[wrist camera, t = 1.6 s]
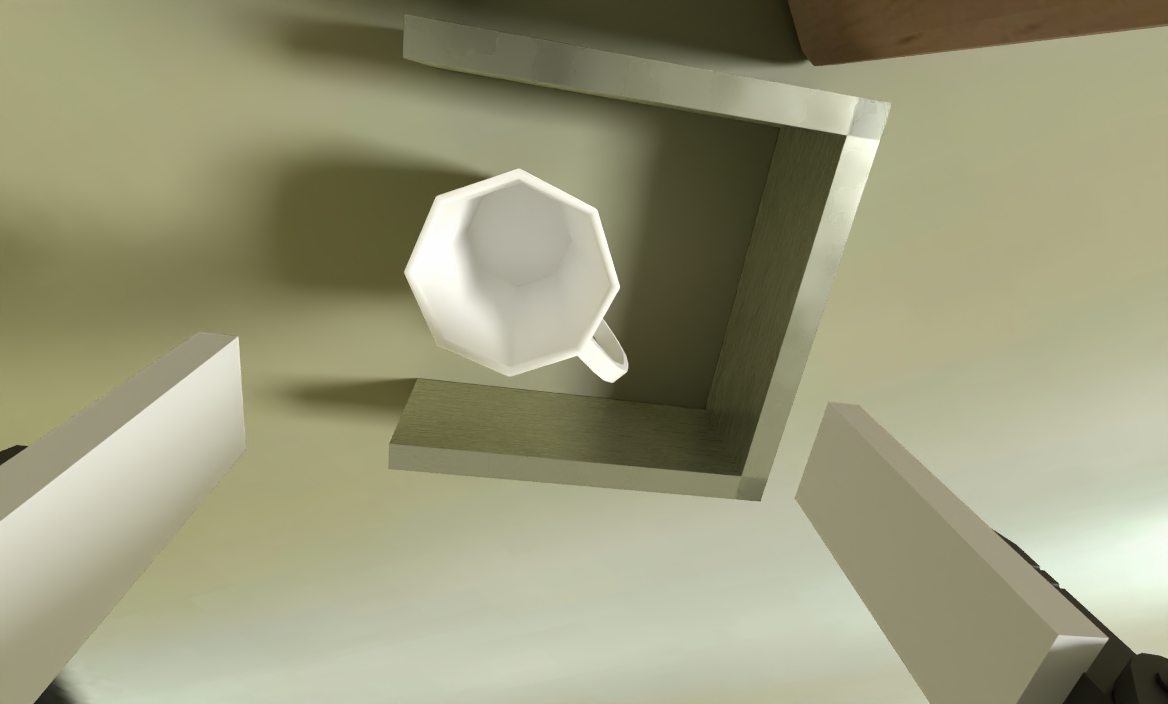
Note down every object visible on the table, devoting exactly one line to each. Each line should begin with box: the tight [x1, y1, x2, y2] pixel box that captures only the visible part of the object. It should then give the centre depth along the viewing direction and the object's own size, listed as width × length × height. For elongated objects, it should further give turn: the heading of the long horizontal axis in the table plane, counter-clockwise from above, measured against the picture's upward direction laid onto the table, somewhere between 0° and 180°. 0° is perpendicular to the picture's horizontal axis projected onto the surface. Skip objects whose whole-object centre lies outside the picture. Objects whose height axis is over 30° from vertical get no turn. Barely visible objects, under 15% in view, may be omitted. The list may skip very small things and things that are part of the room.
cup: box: [404, 168, 628, 383], centre depth 23 cm, size 7×10×8 cm
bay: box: [388, 14, 892, 501], centre depth 25 cm, size 16×16×6 cm
